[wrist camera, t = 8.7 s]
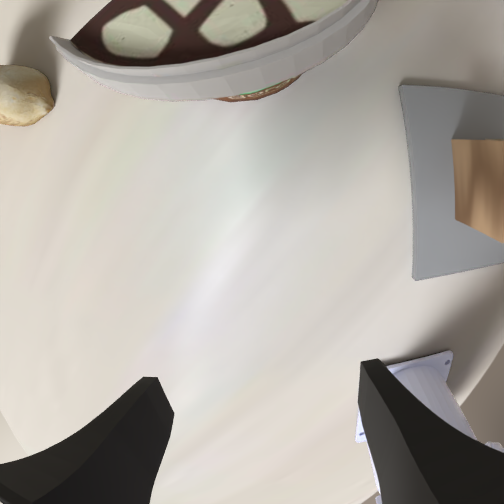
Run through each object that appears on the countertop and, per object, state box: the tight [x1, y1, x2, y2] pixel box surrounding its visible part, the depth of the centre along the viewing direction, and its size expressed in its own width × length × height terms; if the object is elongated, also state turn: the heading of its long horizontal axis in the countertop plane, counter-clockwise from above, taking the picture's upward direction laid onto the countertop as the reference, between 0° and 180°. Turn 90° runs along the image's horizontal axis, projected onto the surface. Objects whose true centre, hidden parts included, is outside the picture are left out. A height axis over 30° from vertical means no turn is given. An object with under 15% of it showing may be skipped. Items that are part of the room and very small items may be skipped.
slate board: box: [399, 85, 504, 281], centre depth 15 cm, size 12×11×1 cm
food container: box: [49, 0, 378, 102], centre depth 10 cm, size 12×6×10 cm, turn 128°
